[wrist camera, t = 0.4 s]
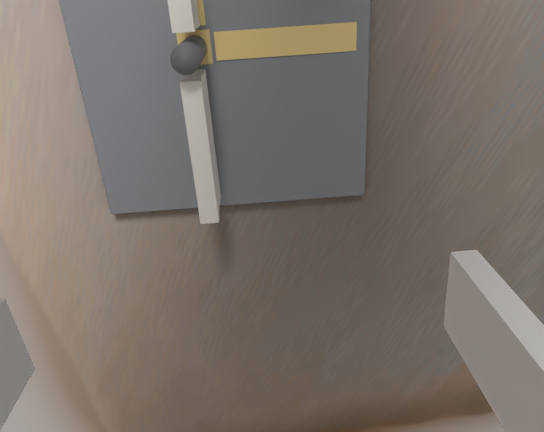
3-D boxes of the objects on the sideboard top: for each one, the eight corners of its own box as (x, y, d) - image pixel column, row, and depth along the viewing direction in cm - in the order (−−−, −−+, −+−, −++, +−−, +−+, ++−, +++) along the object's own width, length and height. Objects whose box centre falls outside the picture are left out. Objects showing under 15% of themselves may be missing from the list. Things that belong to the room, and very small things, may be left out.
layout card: (28, -144, 29) (22, -148, 28) (373, -166, 29) (376, -170, 29) (113, 210, 40) (111, 214, 40) (362, 191, 41) (364, 195, 40)
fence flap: (187, 70, 34) (179, 82, 30) (206, 68, 34) (200, 80, 30) (205, 197, 39) (200, 223, 35) (222, 196, 39) (219, 222, 35)
